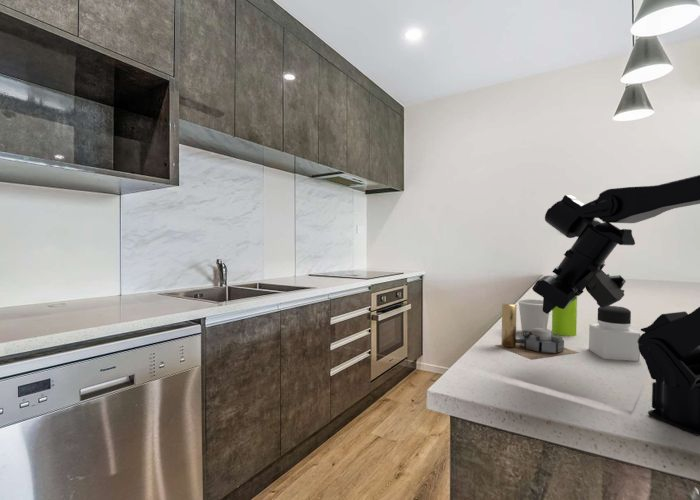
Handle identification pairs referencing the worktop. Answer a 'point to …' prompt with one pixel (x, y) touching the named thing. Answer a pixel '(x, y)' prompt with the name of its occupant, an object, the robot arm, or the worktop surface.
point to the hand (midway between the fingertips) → (545, 312)
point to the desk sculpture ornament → (526, 334)
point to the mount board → (532, 354)
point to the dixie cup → (532, 314)
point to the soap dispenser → (565, 320)
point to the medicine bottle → (614, 335)
